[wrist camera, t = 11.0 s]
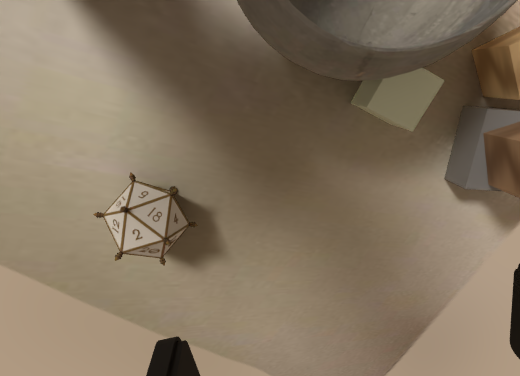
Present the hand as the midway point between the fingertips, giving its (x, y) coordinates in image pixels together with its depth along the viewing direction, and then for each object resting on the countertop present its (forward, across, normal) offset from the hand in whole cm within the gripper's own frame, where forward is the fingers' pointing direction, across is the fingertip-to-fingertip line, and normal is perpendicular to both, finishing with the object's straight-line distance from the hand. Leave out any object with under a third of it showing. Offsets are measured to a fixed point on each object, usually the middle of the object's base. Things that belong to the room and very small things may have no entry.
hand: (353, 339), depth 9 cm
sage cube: (+27, -12, -2) cm, 30 cm away
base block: (+27, -23, +6) cm, 36 cm away
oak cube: (+27, -24, -3) cm, 37 cm away
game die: (+28, +14, +4) cm, 31 cm away
